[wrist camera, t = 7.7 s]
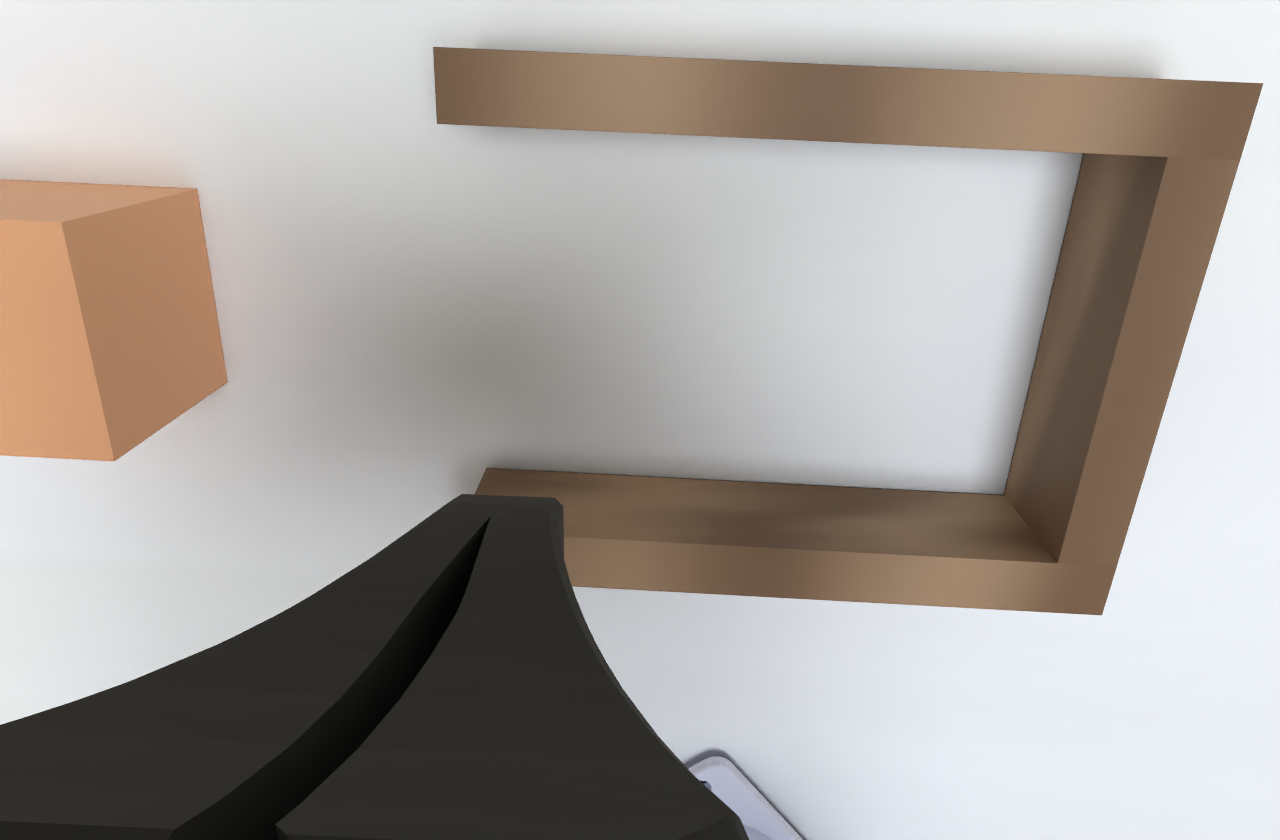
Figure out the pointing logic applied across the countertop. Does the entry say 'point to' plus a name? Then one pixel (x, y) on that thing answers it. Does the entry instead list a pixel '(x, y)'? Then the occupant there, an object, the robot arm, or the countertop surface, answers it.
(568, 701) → the robot arm
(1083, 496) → the wooden frame
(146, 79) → the countertop surface
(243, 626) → the countertop surface
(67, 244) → the terracotta block
